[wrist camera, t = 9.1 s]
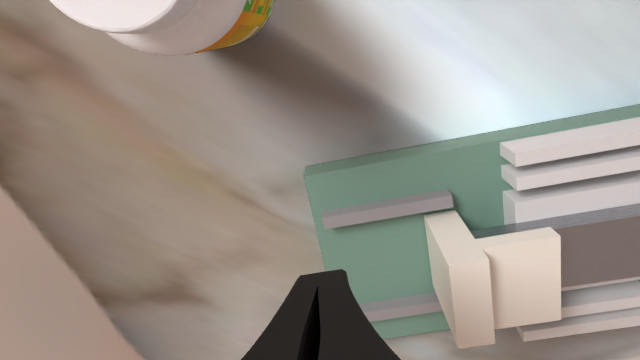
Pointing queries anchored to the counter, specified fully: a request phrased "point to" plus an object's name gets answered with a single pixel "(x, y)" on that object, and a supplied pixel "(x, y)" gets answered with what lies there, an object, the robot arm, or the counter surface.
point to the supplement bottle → (171, 22)
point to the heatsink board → (475, 213)
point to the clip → (492, 278)
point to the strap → (589, 243)
